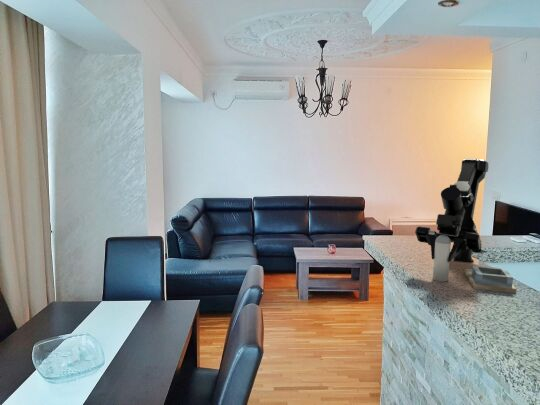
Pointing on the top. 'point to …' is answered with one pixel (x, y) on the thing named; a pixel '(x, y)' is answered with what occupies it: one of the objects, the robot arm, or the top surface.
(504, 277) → the jig
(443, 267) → the cylinder
